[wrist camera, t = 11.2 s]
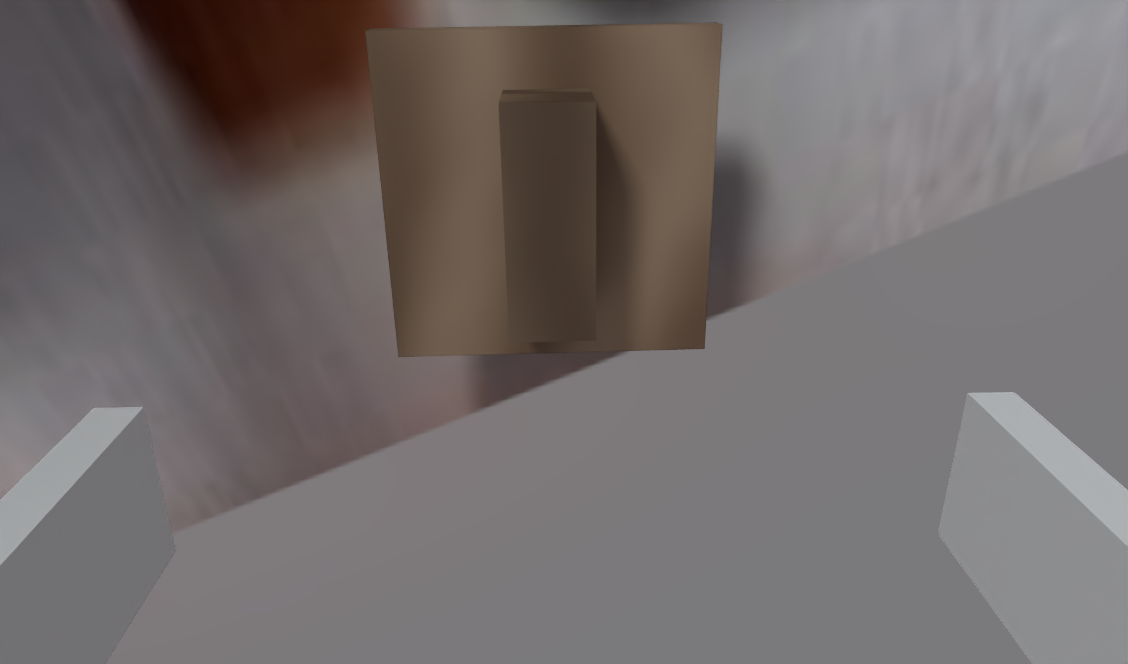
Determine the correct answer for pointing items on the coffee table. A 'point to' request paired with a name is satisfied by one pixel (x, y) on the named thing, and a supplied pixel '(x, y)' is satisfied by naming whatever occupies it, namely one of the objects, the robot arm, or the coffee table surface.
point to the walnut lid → (547, 185)
